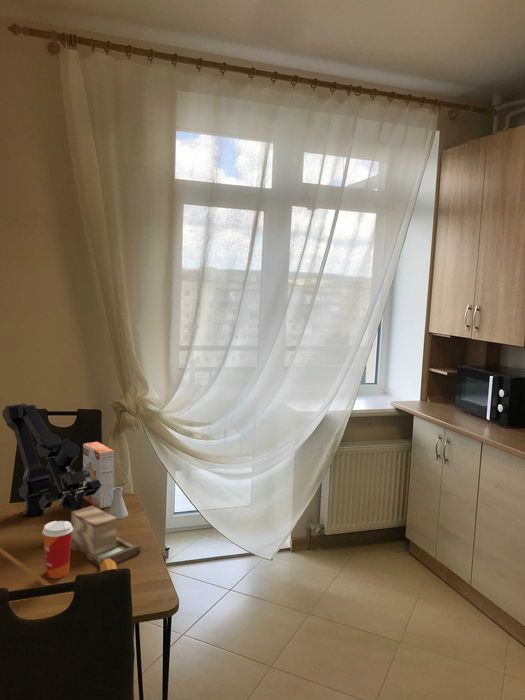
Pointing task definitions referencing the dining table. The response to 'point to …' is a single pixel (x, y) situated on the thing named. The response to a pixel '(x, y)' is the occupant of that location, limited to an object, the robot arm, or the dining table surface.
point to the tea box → (93, 529)
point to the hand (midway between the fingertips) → (81, 517)
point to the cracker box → (99, 472)
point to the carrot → (107, 565)
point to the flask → (118, 504)
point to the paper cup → (57, 548)
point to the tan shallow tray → (111, 552)
